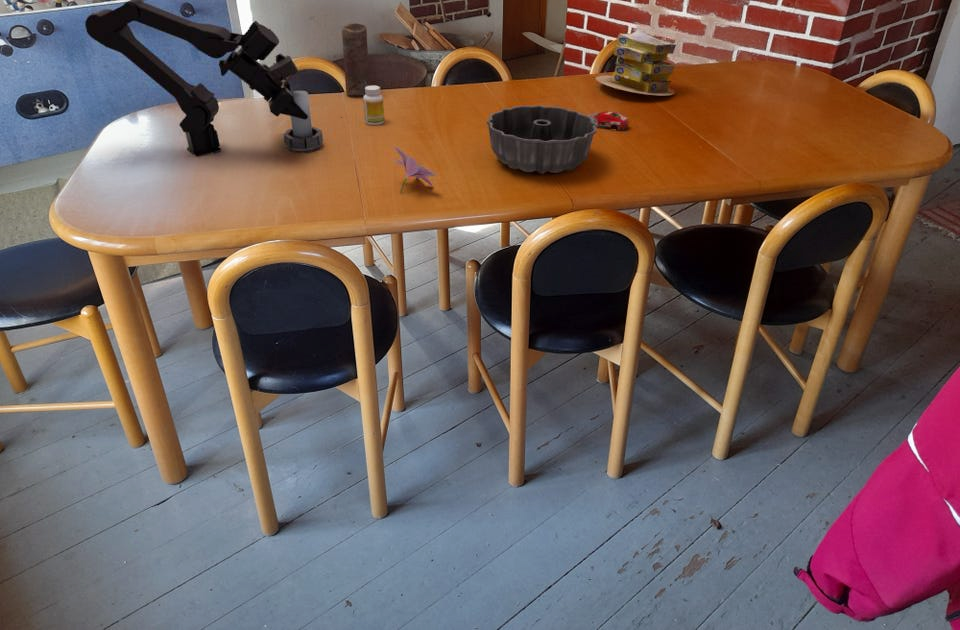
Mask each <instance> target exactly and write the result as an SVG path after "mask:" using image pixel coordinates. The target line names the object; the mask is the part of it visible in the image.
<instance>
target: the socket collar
mask: <svg viewBox="0 0 960 630" xmlns="http://www.w3.org/2000/svg"><path fill="white" fill-rule="evenodd" d="M312 133H313V136H310V137H306V138H294V137H293V130H292V128H288V129H287V130H286V131H285V132H284V133H283V134H282V135H283V139H284V140H283V141H284V145H285V146H286V150H288V151H290V152H293V153H297V152H298V153H299V154H300V153H301V154H302V152H306V153H311V151H312V152H315V150H316V151H319V150H320V149H322V148H323V146H322V145H323V143H324V136H323V131H322V130H321V129H319V128H318V127H314V126H312ZM298 153H297V154H298Z"/></svg>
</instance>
